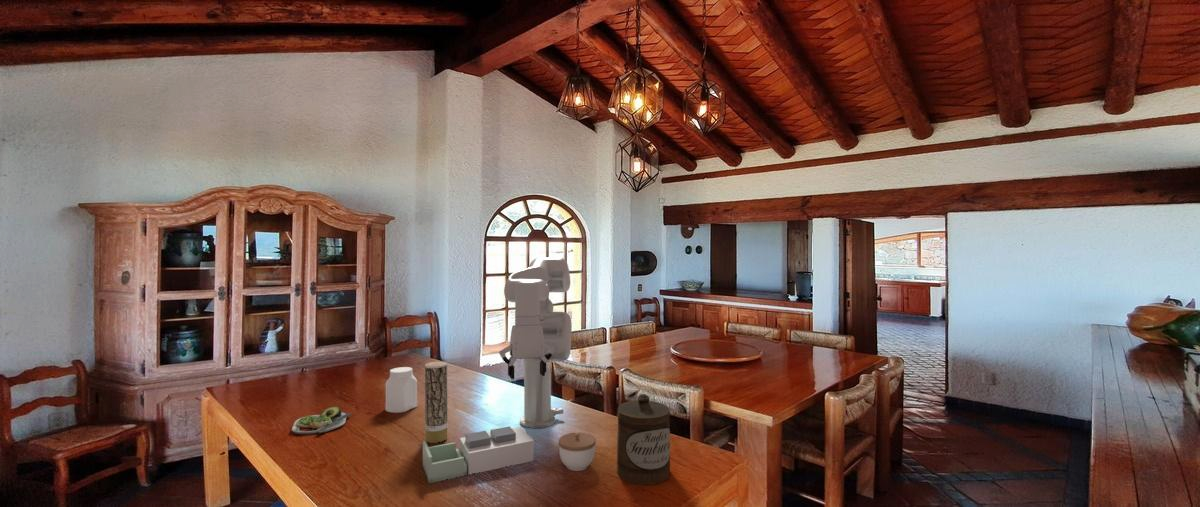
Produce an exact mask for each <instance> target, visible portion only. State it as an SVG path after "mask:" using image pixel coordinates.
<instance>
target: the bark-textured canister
mask: <svg viewBox="0 0 1200 507" xmlns="http://www.w3.org/2000/svg"><path fill="white" fill-rule="evenodd" d="M424 365H425V366H424V380H425V382H424V390H425V393H424V394H425V395H424V396H425V397H424V400H425V403H424V404H425V406H424V407H425V408H424V409H425V411H424V413H425V415H424V416H425V418H424V419H425V420H424V422H425V424H424V425H425V441H426V443H428V442H429V444H439V443H438V442H440V443H443V442H445V441H446V440H447V439H448V362H446V361H430V362H428V363H425V364H424ZM444 440H445V441H444ZM442 441H443V442H442Z"/></svg>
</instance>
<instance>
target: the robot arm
mask: <svg viewBox="0 0 1200 507" xmlns="http://www.w3.org/2000/svg"><path fill="white" fill-rule="evenodd" d="M570 288H571V275H570V269H569V265H568V262H567V261H566V259H565V258H563V257H553V256H552V257H550V256H549V257H544V256H543V257H537V258H534V259H533V260H532V261H531V262H530V264H529V265H528V267H527V268H524V269H522V270H518V271H515V272H513V273H511V274H510V275H509V277H507V280H506V281H505V284H504V288H503V293H504V298H505V299H506V301H507V302H510V303H514V304H515V305H514V309H515V310H514V325H512V326H511V330H510V338H509V339H510V341H509V345H507V346H506V347H504V348H502V349H501V350H499V352H498V354H499V355H500V358H501V359H502V361H503V362H505V363H506V364H507V376H508V377H509V379H511V380H514V379H515V365H514V364H515V362H516V361H517V360H523V367H524V368H523V369H524V370H523V371H524V372H523V377H524V378H523V381H524V383H523V385H524V388H523V389H524V390H523V393H524V395H523V396H524V399H523V400H524V403H523V404H524V405H523V406H524V407H523V408H524V413H523V414H524V415H523V416H521V417H520V418H519V424H520V425H521V426H523V427H526V428H530V429H538V428H539V429H541V428H545V427H546V428H547V427H550V426H551V425H553V424H554V423H555V422H556V415H563V414H564V408H563V407H562V408H558V407H552V404H551V403H552V397H551V396H552V377H551V376H552V374H551V370H550V368H549V367H548V366H547V363H548V362H565V361H567V360H568V359H569V358H570V355H571V348H572V331H573V330H572V318H571V315H570V314H569V313H568V312H565V311H554V304H553V302H552V301H551V300H550V298H549V296H550V293H566V292H568V291H569V289H570ZM508 352H509V355H510V357H509V358H508V357H507V356H506V354H507V353H508Z"/></svg>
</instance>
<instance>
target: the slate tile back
mask: <svg viewBox="0 0 1200 507" xmlns="http://www.w3.org/2000/svg"><path fill="white" fill-rule="evenodd" d="M489 433H490V436H491V438H492V439H493V440H494V442H495V443H496V444H497V443H502V442H507V441H512V440H516V433H515V432H514V431H513V428H512V427H511V426H510V425H509V426H504V427H499V428H498V427H497V428H493V429H490V432H489Z"/></svg>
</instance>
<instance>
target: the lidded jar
mask: <svg viewBox="0 0 1200 507" xmlns="http://www.w3.org/2000/svg"><path fill="white" fill-rule="evenodd" d="M596 443H597V441H596V437H595V436H594V435H592V434H590V433H585V432H570V433H566V434H564V435H562V436H560V437H559V439H558V452H559V453H558V454H559V458H560V460H561V462H562V463H563V465H564V466H565V467H566V468H567V469H568V470H570V471H572V472H573V471H574V472H580V471H584V470H586V469H587V468H588V467H589V465H590V464H591V463H592V461H593V460H594V457H595V454H596Z"/></svg>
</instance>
